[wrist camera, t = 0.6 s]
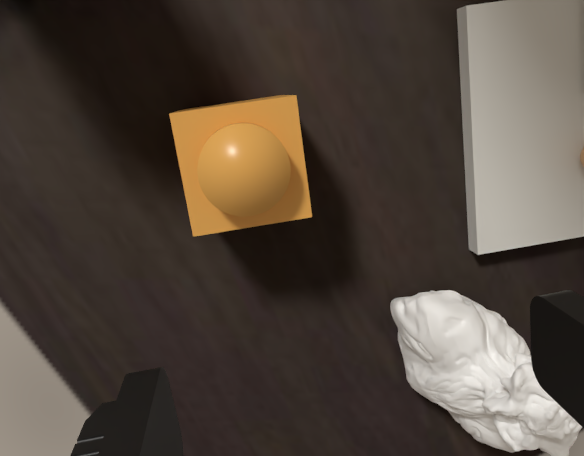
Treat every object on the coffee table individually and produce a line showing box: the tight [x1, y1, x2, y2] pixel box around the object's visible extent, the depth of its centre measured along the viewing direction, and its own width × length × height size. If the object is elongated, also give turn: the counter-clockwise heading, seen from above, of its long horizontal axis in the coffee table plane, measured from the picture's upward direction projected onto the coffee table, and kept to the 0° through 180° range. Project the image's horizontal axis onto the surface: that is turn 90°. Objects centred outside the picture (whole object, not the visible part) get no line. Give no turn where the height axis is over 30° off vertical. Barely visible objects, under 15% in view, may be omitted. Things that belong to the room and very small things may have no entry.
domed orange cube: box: [169, 95, 312, 237], centre depth 26 cm, size 6×6×7 cm
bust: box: [390, 290, 582, 456], centre depth 29 cm, size 12×8×11 cm
